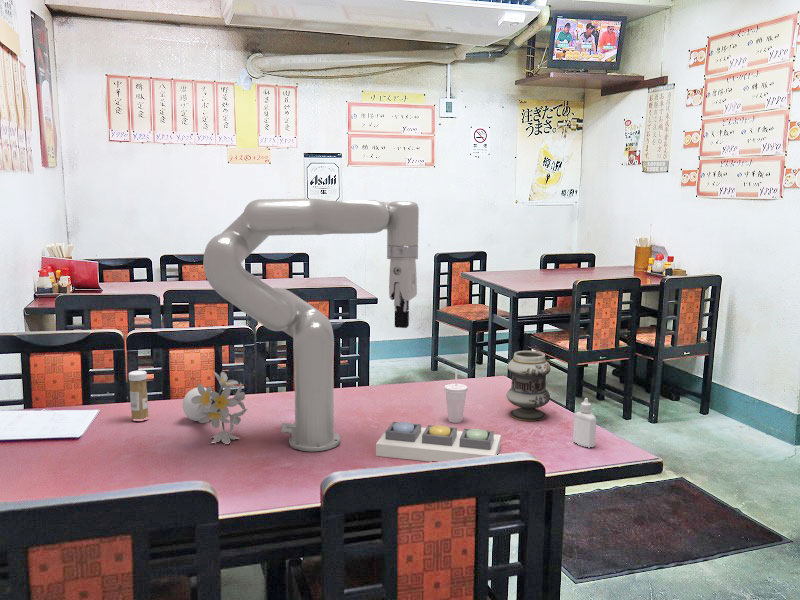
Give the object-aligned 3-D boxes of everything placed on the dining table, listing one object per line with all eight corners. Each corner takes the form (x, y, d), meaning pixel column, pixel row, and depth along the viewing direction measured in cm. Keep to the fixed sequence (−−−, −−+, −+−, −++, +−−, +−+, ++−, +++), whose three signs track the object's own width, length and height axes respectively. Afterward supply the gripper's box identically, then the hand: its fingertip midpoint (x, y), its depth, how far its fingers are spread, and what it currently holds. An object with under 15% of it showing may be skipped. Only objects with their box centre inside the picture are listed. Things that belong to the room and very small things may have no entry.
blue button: (391, 437, 160) (391, 427, 160) (396, 430, 165) (396, 421, 164) (411, 439, 159) (411, 429, 158) (415, 432, 164) (415, 423, 163)
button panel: (375, 455, 157) (375, 435, 156) (391, 435, 170) (391, 416, 170) (494, 468, 150) (494, 447, 149) (500, 446, 163) (501, 427, 163)
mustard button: (427, 441, 158) (427, 431, 158) (431, 433, 163) (431, 424, 162) (448, 443, 157) (448, 433, 156) (451, 435, 161) (451, 426, 161)
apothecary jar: (519, 406, 196) (521, 346, 193) (556, 414, 188) (559, 352, 185) (497, 416, 186) (500, 353, 184) (536, 425, 179) (539, 360, 176)
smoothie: (466, 417, 185) (468, 368, 183) (466, 425, 179) (468, 374, 177) (444, 416, 186) (444, 367, 184) (443, 424, 179) (444, 373, 177)
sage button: (464, 444, 156) (465, 435, 155) (467, 437, 161) (468, 428, 160) (486, 446, 155) (486, 437, 154) (488, 439, 159) (488, 429, 159)
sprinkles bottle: (151, 420, 180) (149, 372, 178) (135, 424, 177) (132, 375, 175) (144, 416, 183) (142, 369, 181) (128, 419, 180) (125, 371, 178)
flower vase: (186, 446, 179) (215, 452, 159) (165, 382, 179) (191, 379, 158) (230, 428, 187) (263, 432, 166) (210, 366, 186) (242, 362, 165)
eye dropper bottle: (579, 449, 162) (581, 402, 161) (571, 440, 168) (573, 395, 166) (596, 448, 163) (599, 401, 161) (587, 440, 168) (590, 394, 166)
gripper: (410, 255, 152) (409, 333, 155) (424, 250, 167) (423, 322, 169) (379, 254, 154) (378, 332, 157) (395, 250, 168) (394, 320, 171)
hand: (401, 326), depth 163 cm, fingers closed
